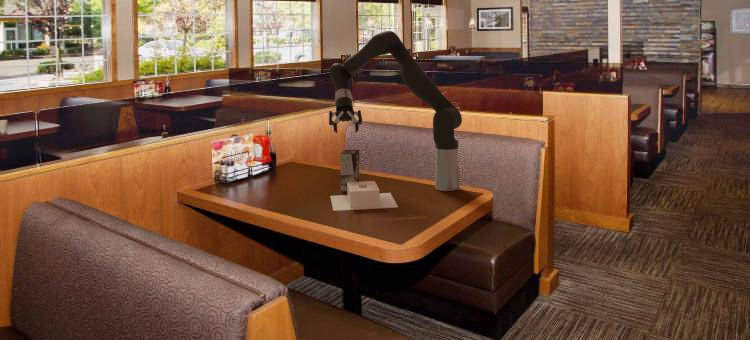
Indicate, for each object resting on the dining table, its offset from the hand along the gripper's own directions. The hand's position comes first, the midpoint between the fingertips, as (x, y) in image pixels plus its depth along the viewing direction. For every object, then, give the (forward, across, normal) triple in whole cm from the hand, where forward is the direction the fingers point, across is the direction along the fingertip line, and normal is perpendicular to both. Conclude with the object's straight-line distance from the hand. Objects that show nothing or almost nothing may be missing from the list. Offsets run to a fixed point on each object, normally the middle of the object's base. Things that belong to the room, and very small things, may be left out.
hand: (346, 131), depth 262 cm
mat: (+39, +3, -8) cm, 40 cm away
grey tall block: (+25, 0, +6) cm, 26 cm away
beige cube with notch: (+39, +3, -9) cm, 40 cm away
